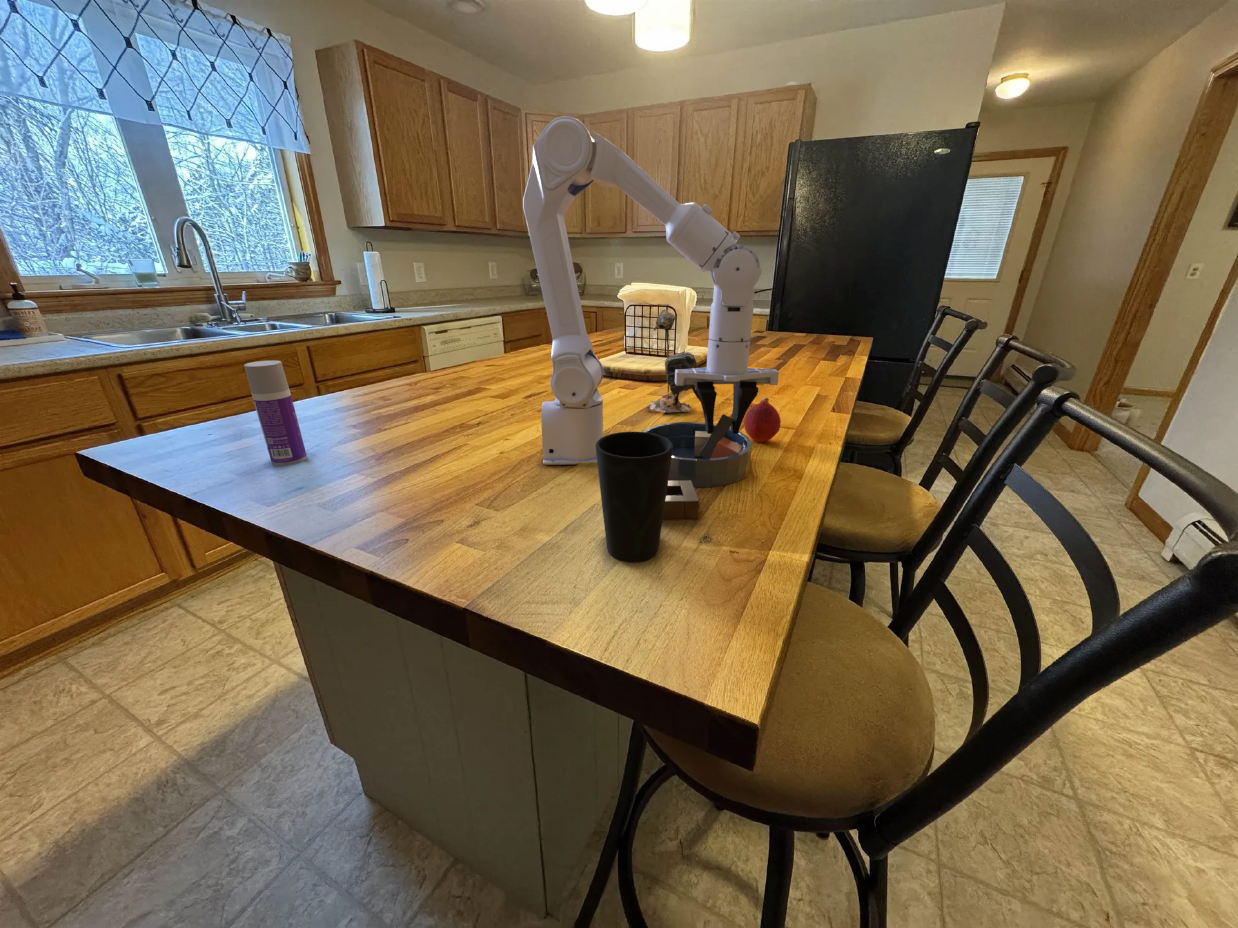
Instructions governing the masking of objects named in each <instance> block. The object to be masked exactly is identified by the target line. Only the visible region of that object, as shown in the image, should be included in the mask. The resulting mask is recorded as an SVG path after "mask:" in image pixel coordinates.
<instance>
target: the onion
mask: <svg viewBox="0 0 1238 928" xmlns="http://www.w3.org/2000/svg"><path fill="white" fill-rule="evenodd" d="M769 401H770V399H769V398H768V397H766V396H765V397H762V398H761V400H760V401H759V403H757V404H755V405H754V406H752V407H751V408H750V409H748V410H747V412H746V414H745V416H744V420H743V423H744V424H743V425H744V430H745V433H746V435H747V436H748V437H749V439H751V440H752V441H754V442H756V443H760V444H761V443H766V442H768V441H769V440H771V439H772V438H774V437H775V436H776V435H777V434H778V432H779V431H780V429H781V422H782V420H781V416H780V413H779V411H778V410H777V409H776V407H775V406H774V405H772V404H771V403H770V402H769Z"/></svg>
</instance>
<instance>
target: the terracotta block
mask: <svg viewBox="0 0 1238 928" xmlns="http://www.w3.org/2000/svg"><path fill="white" fill-rule="evenodd" d="M742 449H743V446H741V445H739V444H737V443H735V442H733V441H731V440H729V439H727V438H725V437H724V438H722V439H721V440H720V441H719V442H718V443H717V445H716V447H715V449H714V452H713V454H712V456H711V458H710V459H712V458H721V457H727V456H731V455H735V454H737V453H739V452H741V451H742Z"/></svg>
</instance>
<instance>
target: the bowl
mask: <svg viewBox="0 0 1238 928" xmlns="http://www.w3.org/2000/svg"><path fill="white" fill-rule="evenodd" d="M716 425H717V424H714V423H713V430H714V428H715V427H716ZM695 431H706V429H705V422H697V421H678V422H667V423H663V424H662V423H661V424H658V425H654V426H651V427H648V428H646V429H645V430H643V431H642V432H647V433H653V434H657V435H660V436H663V437H665V438H667V439H668V440H670V441H671V443H672V444H673V452H672V458H671V465H670V472H669V479H668V481H688V480H691V481H692V484H693V487H694V488H714V487H715V488H716V487H722V486H727V485H730V484H734V483H737V482H739V481H741V480H743V479H744V478H746V477H747V475H748V474H749V473H750V470H751V459H752V450H753V440H752V439H751V438H750V437H749V435H747V434H745V433H743V432H741V431H739V433H738V434H734V433H733V432H732V430H731V427H730V428H729V430H728V431H727V433H726V435H725V438H727V439H729V440H731V441H733V442H735V443H737V444H739V445H741V446H743V449H742V451H741V452H739V453H737V454H735V455H731V456H727V457H721V458H712V459H705V458H703V457H699V456H694V448H695Z"/></svg>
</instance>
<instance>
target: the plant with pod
mask: <svg viewBox="0 0 1238 928" xmlns="http://www.w3.org/2000/svg"><path fill="white" fill-rule="evenodd" d="M675 320H676V316H675V314H673V313H672V312H670V311H668V310H667V309H662V310H661V311H660V313H659V314H658V317H657V319H656V321H655V326H654V328H653V331H654V332H655V331H657V329H661V330H664V331H665V339H666V340H665V341H666V358H665V360H664V368H665V369H664V370H665V373H666V374H665V375H666V379H667V380H666V381H667V394H666V393H662V394H661V398H660V399H658V400H655V401H653V400H651V401H650V404H648V406H647V407H646V409H647V410H650V411H653V412H662V413H664V414H665V413H666V414H668V413H681V412H682V413H689V412H690V410H691V409H692V407H691V405H690V404H689V403H688V404H687V403H686V402H680V400H679V396H680V393H682V392H684V391H685V392H687V391H689V390H692V391H693V393H694V395H695V397H696V398H697V399H698V401H699V402H700V399H699V396H698V393H697V391H696V388H695V386H694V384H684V385H682V386H677V385H676V384H675V370H676V369H694V368H698V362H697V360H696V358H695V354H692V353H691V352H688V351H686V352H680V353H675V354H673V355H670V344H669V343H670V341H669V340H670V334H669V333H670V331H671V330H672V328H673V326H674V323H675ZM669 392H670V393H671V394H669Z"/></svg>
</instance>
